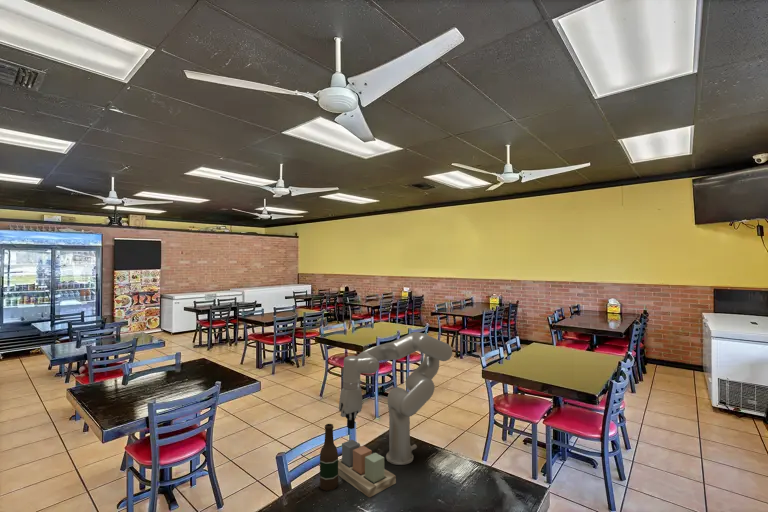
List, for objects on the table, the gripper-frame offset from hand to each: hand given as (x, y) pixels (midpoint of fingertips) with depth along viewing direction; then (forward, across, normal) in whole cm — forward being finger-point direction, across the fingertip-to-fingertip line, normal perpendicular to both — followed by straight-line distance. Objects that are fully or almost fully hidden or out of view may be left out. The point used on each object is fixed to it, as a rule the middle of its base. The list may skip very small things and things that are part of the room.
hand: (350, 427), depth 158 cm
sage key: (+15, 0, +16) cm, 22 cm away
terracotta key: (+15, -1, +8) cm, 17 cm away
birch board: (+18, -1, +8) cm, 19 cm away
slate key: (+15, -1, 0) cm, 15 cm away
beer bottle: (+18, +13, +3) cm, 23 cm away
